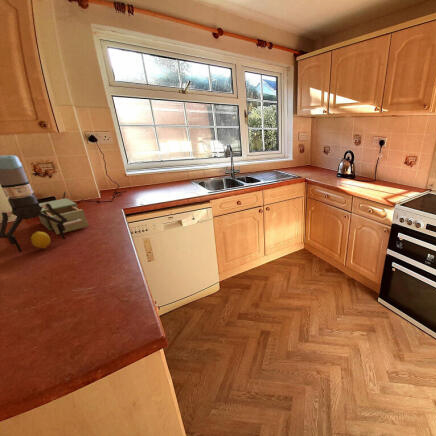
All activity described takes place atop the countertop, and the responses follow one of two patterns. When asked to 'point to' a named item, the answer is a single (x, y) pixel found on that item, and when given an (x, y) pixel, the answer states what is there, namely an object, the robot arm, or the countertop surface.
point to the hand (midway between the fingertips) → (43, 244)
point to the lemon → (40, 240)
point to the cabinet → (55, 205)
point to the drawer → (68, 218)
